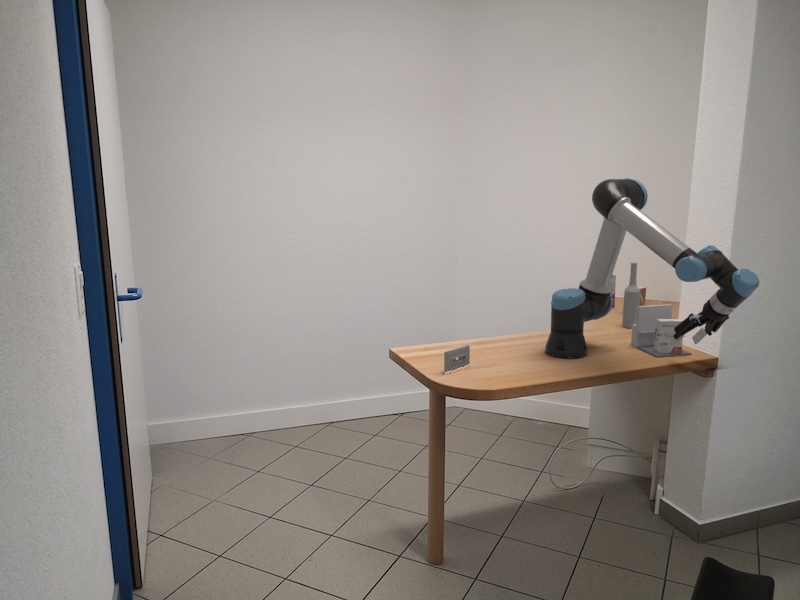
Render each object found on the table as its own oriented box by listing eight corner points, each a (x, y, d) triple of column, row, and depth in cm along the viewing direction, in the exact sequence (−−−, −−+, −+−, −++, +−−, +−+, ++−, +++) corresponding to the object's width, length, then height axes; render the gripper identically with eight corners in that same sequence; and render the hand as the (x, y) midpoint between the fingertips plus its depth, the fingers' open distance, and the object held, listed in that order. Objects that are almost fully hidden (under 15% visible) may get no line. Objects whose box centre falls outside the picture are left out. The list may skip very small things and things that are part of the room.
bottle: (621, 327, 255) (625, 263, 250) (622, 324, 261) (626, 261, 255) (637, 329, 252) (641, 264, 247) (638, 325, 258) (643, 262, 253)
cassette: (466, 366, 206) (466, 344, 205) (470, 367, 205) (470, 345, 203) (443, 373, 198) (443, 351, 197) (447, 375, 197) (447, 352, 195)
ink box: (677, 349, 219) (679, 318, 217) (682, 353, 214) (684, 321, 212) (652, 349, 220) (655, 318, 218) (657, 353, 215) (659, 321, 213)
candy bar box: (607, 305, 301) (608, 273, 297) (614, 307, 296) (616, 275, 293) (591, 308, 295) (592, 275, 292) (598, 310, 291) (600, 277, 288)
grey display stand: (656, 357, 212) (659, 314, 209) (628, 344, 229) (631, 304, 226) (691, 354, 214) (694, 311, 211) (661, 342, 232) (664, 302, 228)
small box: (637, 316, 276) (639, 289, 273) (624, 314, 280) (625, 287, 278) (644, 313, 281) (646, 286, 279) (631, 311, 286) (633, 285, 283)
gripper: (696, 317, 185) (661, 352, 204) (754, 313, 189) (714, 348, 208) (686, 297, 189) (652, 334, 208) (743, 294, 193) (705, 330, 212)
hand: (683, 341), depth 208 cm, fingers open, 8 cm apart
